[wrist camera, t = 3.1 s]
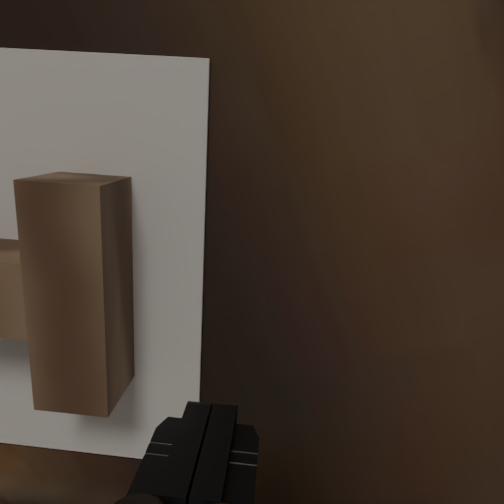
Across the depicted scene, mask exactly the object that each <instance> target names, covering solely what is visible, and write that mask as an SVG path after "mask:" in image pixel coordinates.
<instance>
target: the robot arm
mask: <svg viewBox="0 0 504 504" xmlns="http://www.w3.org/2000/svg"><path fill="white" fill-rule="evenodd" d="M237 410H238V406H232V405H223V404H213V407H212V403H203V402H193V401H188V402H187V404H186V407H185V410H184V413H183V416H182V418H176V417H167V418H166V419H165V420H164V421H163V422H162V423H160V424H159V425H158V426H157V427H156V429H155V431H154V433H153V436H152V438H151V440H150V443H149V445H148V447H147V450H146V453H145V455H144V456H143V459H142V461H141V463H140V466H139V468H138V470H137V473H136V475H135V477H134V480H133V482H132V484H131V486H130V489H129V491H128V493H127V496H126V497H124V498H122V499H120V500H119V501H117V502H116V503H115V504H254V494H255V482H256V470H257V458H258V446H259V437H258V435H257V433H256V431H255V429H254V427H253V426H251V425H242V424H237Z"/></svg>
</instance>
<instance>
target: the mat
mask: <svg viewBox="0 0 504 504" xmlns="http://www.w3.org/2000/svg"><path fill="white" fill-rule="evenodd" d="M209 75H210V59H209V58H191V57H172V56H152V55H132V54H113V53H93V52H73V51H54V50H34V49H14V48H0V238H1V239H14V240H19V239H18V228H17V217H16V206H15V195H14V184H13V180H15V179H21V178H26V177H32V176H37V175H43V174H48V173H54V172H71V173H85V174H99V175H113V176H127V177H131V192H132V251H133V311H134V370H135V376H134V378H133V379H132V381H131V382H130V384H129V386H128V387H127V389H126V390H125V392H124V393H123V395H122V397H121V398H120V400H119V401H118V403H117V404H116V406H115V408H114V409H113V411H112V412H111V414H110V415H109V417H108V418H106V417H96V416H87V415H78V414H69V413H60V412H50V411H41V410H34V405H33V394H32V383H31V372H30V361H29V350H28V341H25V340H14V339H4V338H0V443H9V444H18V445H26V446H35V447H44V448H52V449H61V450H69V451H78V452H87V453H95V454H104V455H113V456H121V457H130V458H139V459H143V456H144V455H145V453H146V450H147V447H148V445H149V443H150V440H151V438H152V436H153V433H154V431H155V429H156V427H157V426H158V425H159V424H160V423H162V422H163V421H164V420H165V419H166V418H167V417H176V418H182V416H183V413H184V410H185V407H186V404H187V402H188V401H193V402H200V374H201V341H202V308H203V274H204V241H205V208H206V175H207V141H208V108H209Z"/></svg>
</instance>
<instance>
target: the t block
mask: <svg viewBox="0 0 504 504" xmlns="http://www.w3.org/2000/svg"><path fill="white" fill-rule="evenodd" d="M13 184H14V195H15V206H16V217H17V228H18V239H19V240H14V239H1V238H0V338H4V339H14V340H25V341H28V350H29V361H30V372H31V383H32V394H33V405H34V410H41V411H50V412H60V413H69V414H78V415H87V416H96V417H106V418H108V417H109V415H110V414H111V412H112V411H113V409H114V408H115V406H116V404H117V403H118V401H119V400H120V398H121V397H122V395H123V393H124V392H125V390H126V389H127V387H128V386H129V384H130V382H131V381H132V379H133V378H134V376H135V370H134V311H133V251H132V192H131V177H127V176H113V175H99V174H85V173H71V172H54V173H48V174H43V175H37V176H32V177H26V178H21V179H15V180H13Z"/></svg>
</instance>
